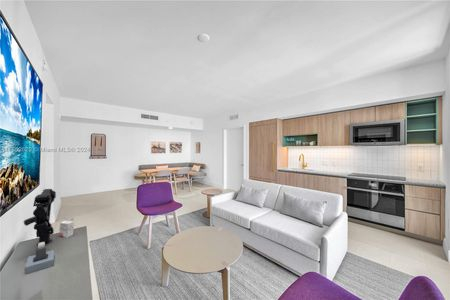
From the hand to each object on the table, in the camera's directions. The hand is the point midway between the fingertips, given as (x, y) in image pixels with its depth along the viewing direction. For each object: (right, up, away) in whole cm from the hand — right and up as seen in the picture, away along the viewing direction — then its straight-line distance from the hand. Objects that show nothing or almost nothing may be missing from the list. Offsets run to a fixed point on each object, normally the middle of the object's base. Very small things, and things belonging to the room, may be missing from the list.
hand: (41, 233), depth 124 cm
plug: (+13, -12, -13) cm, 22 cm away
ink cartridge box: (-4, -13, +24) cm, 28 cm away
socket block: (+13, -13, -13) cm, 23 cm away
